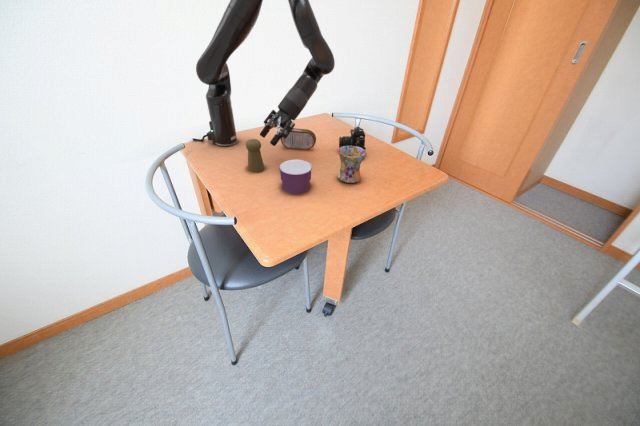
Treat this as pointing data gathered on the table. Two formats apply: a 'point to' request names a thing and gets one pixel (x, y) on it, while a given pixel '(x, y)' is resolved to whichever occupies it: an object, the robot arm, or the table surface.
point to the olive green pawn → (254, 156)
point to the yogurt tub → (295, 176)
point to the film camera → (353, 139)
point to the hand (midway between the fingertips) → (266, 140)
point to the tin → (299, 139)
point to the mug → (350, 163)
